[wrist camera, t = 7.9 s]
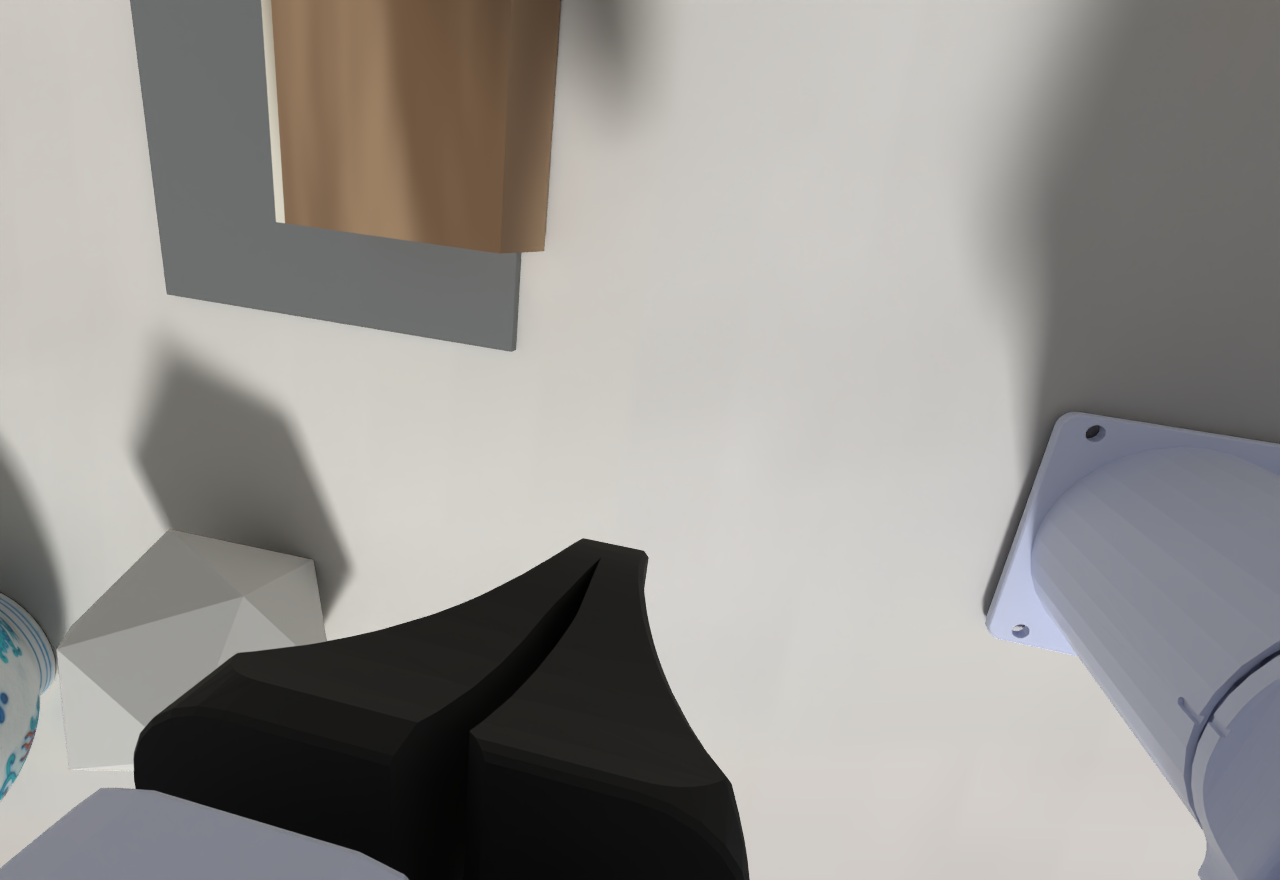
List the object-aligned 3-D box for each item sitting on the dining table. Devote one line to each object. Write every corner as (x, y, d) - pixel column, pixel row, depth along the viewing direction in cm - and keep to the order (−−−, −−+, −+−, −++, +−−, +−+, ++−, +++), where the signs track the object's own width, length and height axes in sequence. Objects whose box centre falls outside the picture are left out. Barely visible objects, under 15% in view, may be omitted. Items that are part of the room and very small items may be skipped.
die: (211, 467, 28) (-53, 651, 22) (292, 514, 22) (-37, 776, 17) (327, 590, 32) (132, 765, 27) (419, 655, 27) (194, 893, 21)
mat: (548, -234, 17) (543, -244, 17) (515, 349, 22) (511, 351, 22) (112, -239, 19) (98, -249, 19) (176, 293, 24) (167, 294, 24)
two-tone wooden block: (518, -154, 14) (250, -163, 15) (500, 253, 17) (275, 221, 18) (566, -82, 18) (341, -94, 19) (544, 251, 21) (351, 224, 22)
